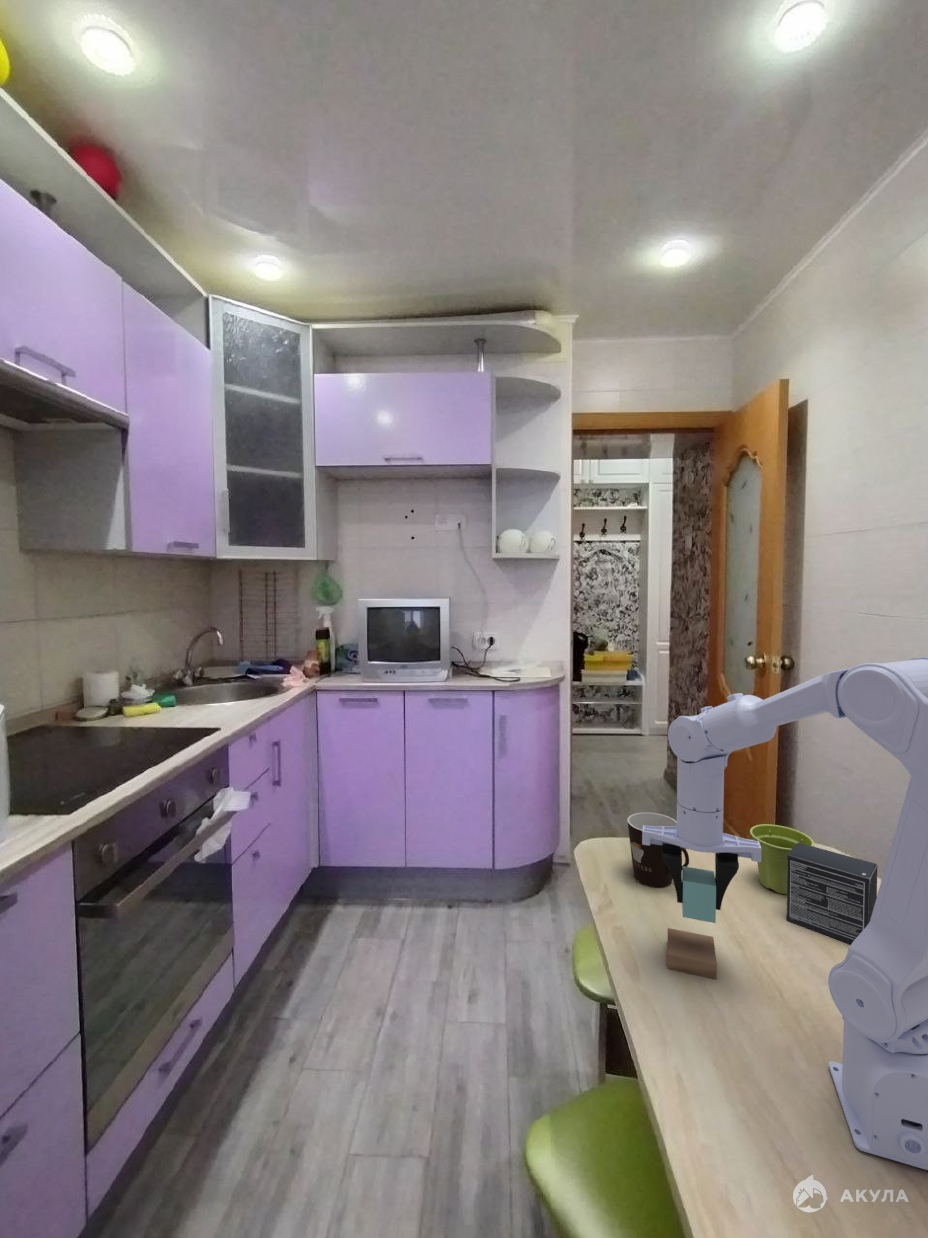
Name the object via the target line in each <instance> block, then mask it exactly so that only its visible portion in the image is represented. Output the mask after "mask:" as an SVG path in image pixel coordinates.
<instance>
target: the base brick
mask: <svg viewBox="0 0 928 1238" xmlns="http://www.w3.org/2000/svg"><path fill="white" fill-rule="evenodd" d="M717 968H718V964H717V954H716V946H715V940H714V936H713V935H711V936H710V935H706V934H700V933H696V932H689V931H685V930H679V929H675V928H669V927H667V969H668V970H672V971H676V972H681V973H687V974H689V975H691V974H692V975H695V976H700V977H704V978H709V979H714V980H717V977H718V976H717V975H718V974H717V973H718V969H717Z"/></svg>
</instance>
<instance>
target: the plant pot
mask: <svg viewBox="0 0 928 1238" xmlns="http://www.w3.org/2000/svg"><path fill="white" fill-rule="evenodd" d="M749 834H750V836H751V837H752V840H753V841H759V843H760V846H761V862H757V869H758V870H757V871H758V879H759V883H760V884H761V885H762V886H763V887H765V888H766V889H770V890H772V891H774V892H776V893H778V894H782V895H787V876H788V861H787V854H788V853H789V852H790V851H791V850H792V848H793V847H794V846H795V845H796V844H797V843H802V844H806V845H810V846H813V847H815V842H814V840H813V839H812V837H810V836H809V835H808V834H805V833H804V832H802V831H800V830H797V829H794V828H791V827H787V826H783V825H778V824H772V823H770V824H768V823H767V824H764V823H763V824H756V825H754V826H752V827H751V828H750V830H749Z"/></svg>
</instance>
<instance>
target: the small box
mask: <svg viewBox="0 0 928 1238" xmlns="http://www.w3.org/2000/svg"><path fill="white" fill-rule="evenodd" d="M787 861H788V876H787V894H786V915H785V916H786V917H785V920H786V921H788V922H789V923H792V924H795V925H798V926H801V927H802V928H806V929H809V930H812V931H814V932H817V933H820V934H821V935H822V934H823V935H825V936H828V937H830V938H832V939H835V940H839V941H841V942H843V943H847V944H849V945H851V944H852V943H853V941H854V940H855V939H856V938H857V937H858V936H859V934H860V933H861V932H862V931H863V930H864V929H865V928H866V926H867V925H868V924H869V922H870V919H871V916H872V912H873V909H874V905H875V902H876V898H877V895H878V864H877V863H875V862H872V861H871V862H870V861H868V860H864V859H860V858H857V857H853V856H849V855H846V854H842V853H837V852H835V851H832V850H831V851H830V850H827V849H823V848H821V847H817V846H814V847H813V846H810V845H806V844H802V843H797V844H796V845H795V846H794V847H793V848H792V850H791V851H790V852H789V853H788V854H787Z"/></svg>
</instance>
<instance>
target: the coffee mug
mask: <svg viewBox="0 0 928 1238" xmlns="http://www.w3.org/2000/svg"><path fill="white" fill-rule="evenodd" d="M643 825H644V826H677V819H676V820H675V819H674V818H672V817H670V816H667V815H665V814H661V813H656V812H645V811H644V812H638V813H637V812H635V813H632V814H631V815H629V816H628V817H627V829H628V836H629V846H630V853H631V863H632V872H633V877H634V879H635V881H636V882H638V883H639V884H641V885H643V886H646V887H649V888H653V889H662V888H667V887H669V886H671V885H672V883H673V879H672V876H671V874H670V872H669V869H668V867H667V865H666V863H665V861H664V859H663V856H662V845H657V844H651V845H643V844H642V829H643ZM682 854H684V855H683V856H684V863H683V864H682V866H684V867H689V864H690V856H689V853H688V850H687V849H684V848H682Z"/></svg>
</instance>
